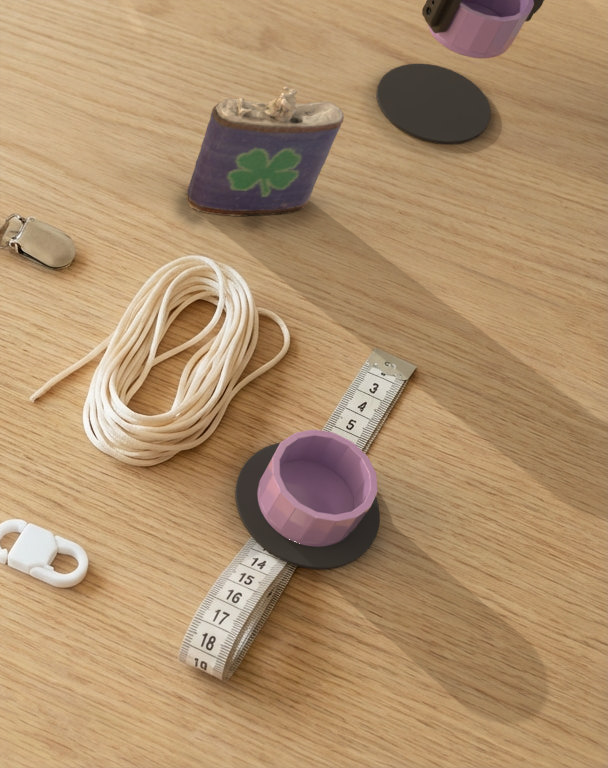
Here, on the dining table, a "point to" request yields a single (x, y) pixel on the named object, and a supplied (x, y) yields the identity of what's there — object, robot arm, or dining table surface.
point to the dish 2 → (484, 27)
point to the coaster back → (433, 103)
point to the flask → (262, 155)
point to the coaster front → (286, 548)
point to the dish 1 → (317, 488)
